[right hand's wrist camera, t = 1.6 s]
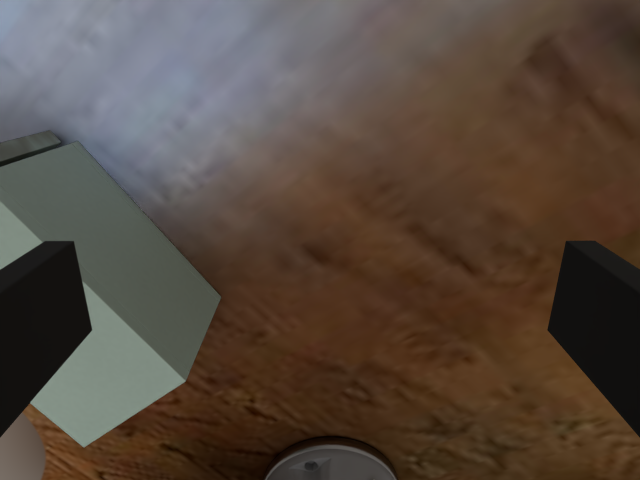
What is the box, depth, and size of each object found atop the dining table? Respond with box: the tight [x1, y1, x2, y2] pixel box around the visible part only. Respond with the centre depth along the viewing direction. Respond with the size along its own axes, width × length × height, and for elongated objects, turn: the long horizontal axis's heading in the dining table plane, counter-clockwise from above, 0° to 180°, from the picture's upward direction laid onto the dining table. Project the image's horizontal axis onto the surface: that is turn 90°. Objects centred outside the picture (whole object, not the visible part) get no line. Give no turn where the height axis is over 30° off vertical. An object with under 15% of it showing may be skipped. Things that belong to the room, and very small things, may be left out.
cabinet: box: [0, 141, 221, 447], centre depth 35 cm, size 18×10×12 cm, turn 36°
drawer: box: [0, 130, 61, 167], centre depth 34 cm, size 22×9×10 cm, turn 36°
